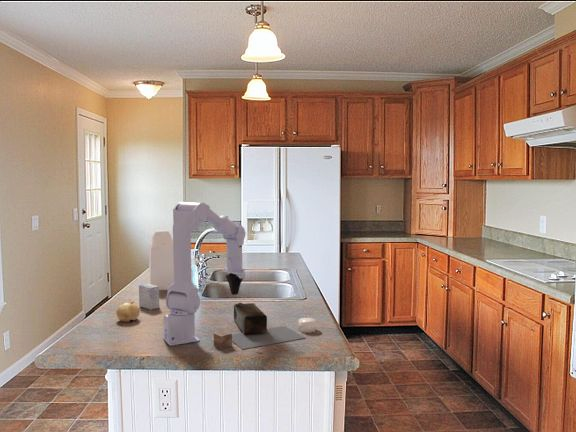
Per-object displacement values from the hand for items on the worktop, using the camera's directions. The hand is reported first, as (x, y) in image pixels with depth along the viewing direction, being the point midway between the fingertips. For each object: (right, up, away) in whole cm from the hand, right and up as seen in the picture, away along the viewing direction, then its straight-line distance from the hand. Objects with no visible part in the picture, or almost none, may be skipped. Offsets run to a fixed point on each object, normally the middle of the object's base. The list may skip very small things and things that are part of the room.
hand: (234, 294), depth 186 cm
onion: (-38, -9, -3) cm, 39 cm away
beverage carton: (+6, -10, -11) cm, 16 cm away
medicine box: (-35, -8, +14) cm, 39 cm away
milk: (-38, -4, +49) cm, 62 cm away
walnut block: (-1, -12, -29) cm, 31 cm away
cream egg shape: (+26, -10, -13) cm, 31 cm away
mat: (+12, -11, -21) cm, 26 cm away
